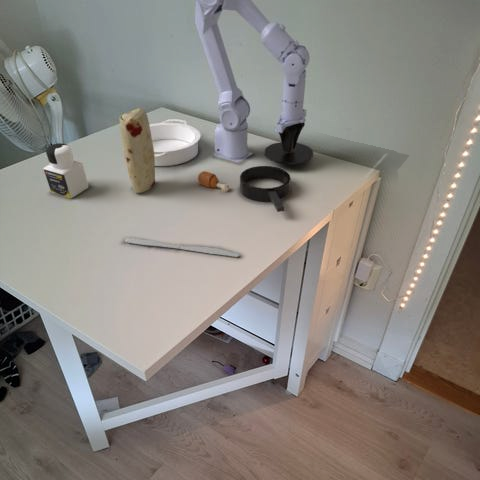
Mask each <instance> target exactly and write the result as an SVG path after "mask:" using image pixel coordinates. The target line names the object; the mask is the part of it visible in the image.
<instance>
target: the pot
mask: <svg viewBox="0 0 480 480" xmlns="http://www.w3.org/2000/svg"><path fill="white" fill-rule="evenodd" d="M179 122H181V123H179ZM149 126H150V131H151V137H152V143H153V148H154V159H155V167H170V166H176V165H179V164H183V163H187V162H189V161H191V160H193V159H194V158H195V157H196V156H197V155H198V153H199V145H198V144H199V143H198V142H199V141H200V139H201V131H199V130H198V129H197V128H195V127H194V126H192V125H189V124H188V122H187V120H184V119H180V118H179V119H177V118H176V119H175V118H174V119H173V118H171V119H170V118H169V119H166V120H164V121H162V122H157V123H151V124H150V123H149Z"/></svg>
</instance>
